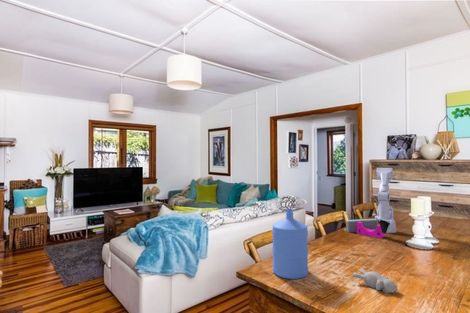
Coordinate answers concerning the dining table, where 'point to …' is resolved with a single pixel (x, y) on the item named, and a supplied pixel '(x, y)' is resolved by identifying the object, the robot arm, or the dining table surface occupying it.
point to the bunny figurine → (377, 281)
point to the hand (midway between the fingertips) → (384, 232)
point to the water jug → (290, 248)
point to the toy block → (369, 231)
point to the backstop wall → (367, 223)
